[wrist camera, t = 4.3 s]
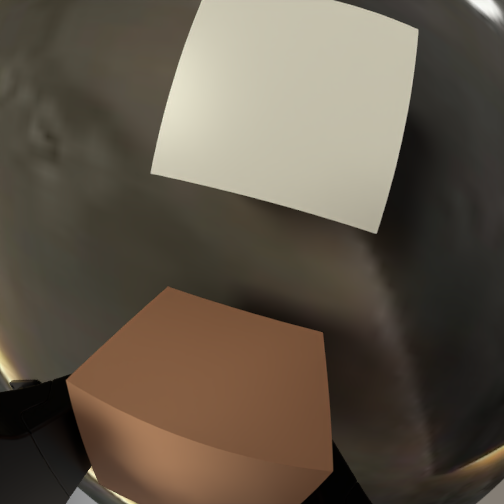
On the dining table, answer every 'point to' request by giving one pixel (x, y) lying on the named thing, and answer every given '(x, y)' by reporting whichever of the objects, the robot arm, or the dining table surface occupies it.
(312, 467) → the terracotta cube
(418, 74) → the dining table surface
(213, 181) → the off-white cube
